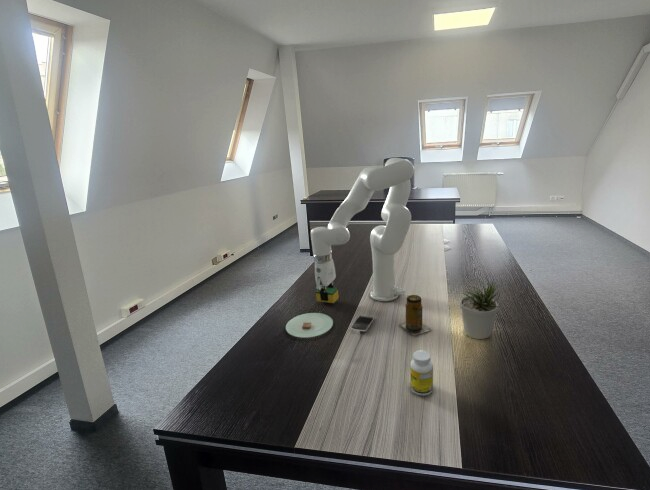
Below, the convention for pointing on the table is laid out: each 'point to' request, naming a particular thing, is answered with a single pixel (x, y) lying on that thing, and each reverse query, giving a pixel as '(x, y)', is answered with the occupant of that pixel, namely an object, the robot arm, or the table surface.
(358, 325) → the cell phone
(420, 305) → the condiment
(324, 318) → the plate
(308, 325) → the crumb
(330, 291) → the sponge
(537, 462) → the table surface
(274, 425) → the table surface
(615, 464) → the table surface
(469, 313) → the potted plant
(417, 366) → the pill bottle
